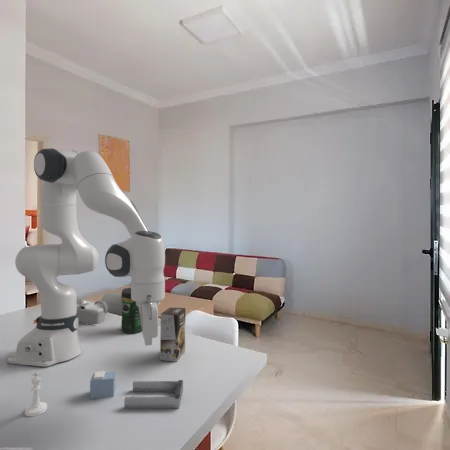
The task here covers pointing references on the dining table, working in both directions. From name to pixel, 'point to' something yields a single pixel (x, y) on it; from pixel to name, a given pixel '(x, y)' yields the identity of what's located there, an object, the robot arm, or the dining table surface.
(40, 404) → the chess piece
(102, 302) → the digital camera
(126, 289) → the coffee jar
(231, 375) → the dining table surface
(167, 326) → the coffee box
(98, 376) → the block
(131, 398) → the grey u-shaped piece
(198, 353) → the dining table surface
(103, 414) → the dining table surface
